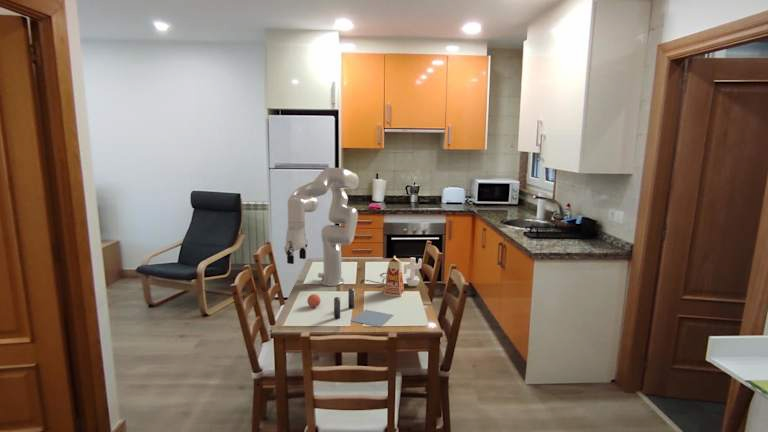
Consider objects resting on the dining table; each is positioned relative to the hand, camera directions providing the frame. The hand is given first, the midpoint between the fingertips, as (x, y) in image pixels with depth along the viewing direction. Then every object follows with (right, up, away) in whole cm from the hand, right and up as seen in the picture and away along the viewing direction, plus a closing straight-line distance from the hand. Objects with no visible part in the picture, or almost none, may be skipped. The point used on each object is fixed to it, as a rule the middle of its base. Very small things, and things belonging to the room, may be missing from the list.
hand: (296, 261), depth 207 cm
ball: (+8, -18, -1) cm, 20 cm away
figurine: (+56, -16, +33) cm, 67 cm away
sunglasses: (+38, -16, +39) cm, 57 cm away
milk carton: (+46, -18, +20) cm, 53 cm away
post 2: (+25, -22, 0) cm, 33 cm away
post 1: (+20, -24, -12) cm, 33 cm away
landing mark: (+36, -24, -12) cm, 44 cm away
